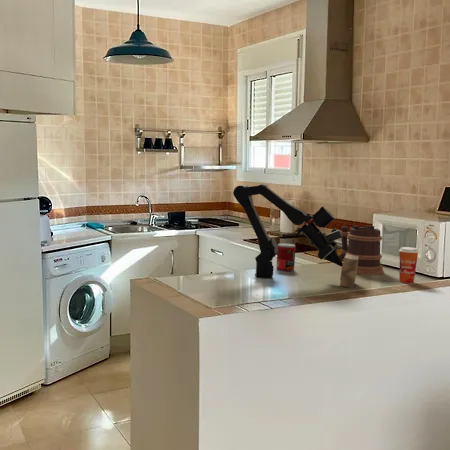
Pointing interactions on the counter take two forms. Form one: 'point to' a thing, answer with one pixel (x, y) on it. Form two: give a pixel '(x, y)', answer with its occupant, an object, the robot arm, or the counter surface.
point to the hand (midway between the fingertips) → (342, 265)
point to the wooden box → (349, 271)
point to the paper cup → (408, 264)
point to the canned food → (285, 257)
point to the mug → (363, 248)
